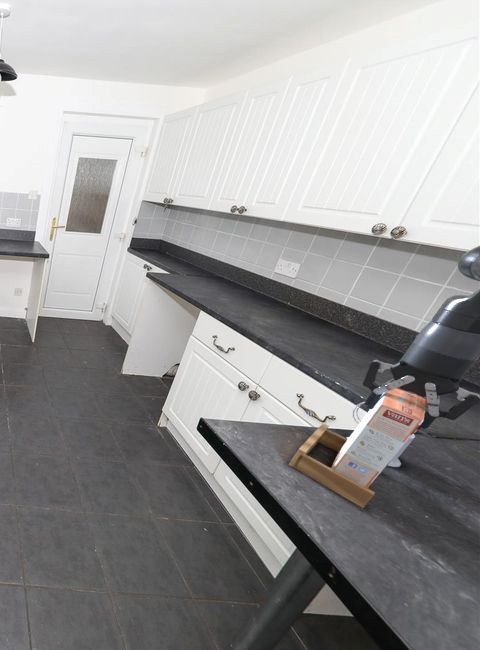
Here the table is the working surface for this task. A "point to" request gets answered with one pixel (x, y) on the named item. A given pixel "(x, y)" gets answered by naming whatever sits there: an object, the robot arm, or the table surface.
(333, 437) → the rack
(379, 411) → the cracker box
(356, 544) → the table surface
